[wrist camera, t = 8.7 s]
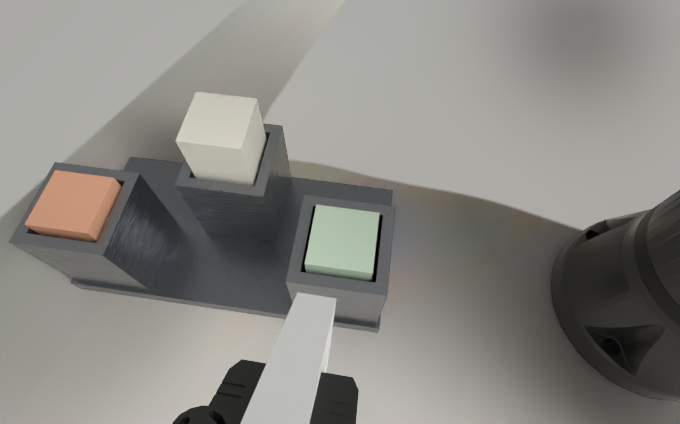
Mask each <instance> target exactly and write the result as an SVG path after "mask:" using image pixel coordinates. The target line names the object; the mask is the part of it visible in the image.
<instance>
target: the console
mask: <svg viewBox="0 0 680 424" xmlns="http://www.w3.org/2000/svg"><path fill="white" fill-rule="evenodd" d="M263 126H264V131H265V135H266V139H267V145H266V149H265V152H264V156H263V160H262V163H261V167H260V170H259V174H258V177H257V181H256V184H255V186H251V185H243V184H235V183H228V182H220V181H212V180H205V179H197V178H196V177H195V176H194V174H193V172H192V170H191V168H190V167H189V165H188V163H187V161H186V159H185V160H184V163H177V162H169V161H161V160H153V159H145V158H138V157H130V159H129V161H128V163H127V165H126V167H125V169H124V171H118V170H110V169H102V168H95V167H87V166H79V165H72V164H64V163H56V162H55V163H54V165H53V167H52V168H51V170H50V172H49V174H48V175H47V177H46V179H45V180H44V182H43V184H42V186H41V187H40V189H39V191H38V193H37V194H36V196H35V198H34V200H33V201H32V203H31V205H30V207H29V208H28V210H27V212H26V214H25V215H24V217H23V219H22V221H21V222H20V224H19V226H18V228H17V229H16V231H15V233H14V234H13V236H12V238H11V240H10V241H9V242H10V243H11V244H13V245H15V246H17V247H18V248H20V249H22V250H24V251H25V252H27V253H29V254H31V255H32V256H34V257H36V258H38V259H39V260H41V261H43V262H45V263H47V264H48V265H50V266H52V267H54V268H55V269H57V270H59V271H61V272H62V273H64V274H66V275H68V276H69V277H71V278H73V280H72V282H71V283H72V284H73V285H75V286H77V287H79V288H81V289H88V290H95V291H101V292H108V293H115V294H122V295H128V296H135V297H142V298H148V299H155V300H162V301H169V302H175V303H182V304H189V305H196V306H202V307H209V308H216V309H222V310H229V311H236V312H243V313H249V314H256V315H263V316H270V317H276V318H283V319H286V318H287V315H288V313H289V311H290V308H291V306H292V304H293V301H294V299H295V297H296V295H297V292H299V293H305V294H312V295H318V296H324V297H330V298H336V306H335V313H334V321H333V326H337V327H344V328H350V329H357V330H364V331H370V332H377V333H378V330H379V326H380V315H381V310H382V308H383V305H384V303H385V300H386V298H387V292H388V281H389V270H390V259H391V248H392V237H393V226H394V215H395V207H393V206H391V202H392V191H393V190H387V189H379V188H371V187H363V186H356V185H348V184H340V183H332V182H325V181H317V180H309V179H301V178H293V177H291V173H290V168H289V162H288V156H287V150H286V145H285V139H284V133H283V128H282V126H279V125H271V124H263ZM55 170H59V171H66V172H74V173H82V174H89V175H97V176H104V177H112V178H115V180H116V181H117V182H118V183H119V184H120V185H121V186H122V189H121V191H120V193H119V195H118V197H117V199H116V201H115V204H114V206H113V208H112V210H111V212H110V214H109V217H108V219H107V221H106V223H105V225H104V227H103V230H102V232H101V234H100V236H99V238H98V240H97V242H96V243H92V242H85V241H78V240H71V239H64V238H57V237H50V236H43V235H40V234H38V233H37V232H35V231H34V230H32V229H31V228H29V227H28V226H26V225H24V224H25V222H26V221H27V219H28V217H29V215H30V214H31V212H32V210H33V208H34V207H35V205H36V203H37V201H38V200H39V198H40V196H41V194H42V192H43V191H44V189H45V187H46V185H47V184H48V182H49V180H50V178H51V177H52V175H53V173H54V171H55ZM316 205H324V206H332V207H339V208H347V209H354V210H362V211H370V212H377V213H379V222H378V231H377V240H376V249H375V258H374V267H373V275H372V279H371V282H368V281H361V280H353V279H346V278H339V277H332V276H325V275H318V274H311V273H306V269H305V259H306V254H307V249H308V244H309V239H310V234H311V229H312V224H313V218H314V213H315V208H316Z"/></svg>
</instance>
